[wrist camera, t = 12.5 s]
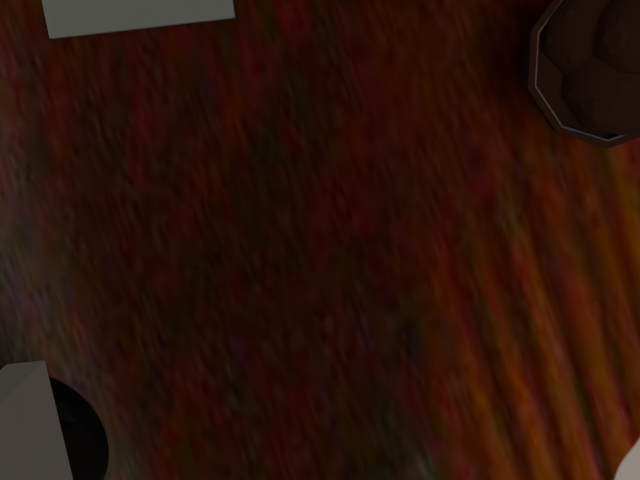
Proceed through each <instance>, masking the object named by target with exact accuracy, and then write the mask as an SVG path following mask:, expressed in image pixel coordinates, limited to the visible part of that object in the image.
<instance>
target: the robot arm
mask: <svg viewBox="0 0 640 480" xmlns="http://www.w3.org/2000/svg"><path fill="white" fill-rule="evenodd" d="M107 465H108V444H107V439H106V435H105V432H104V429H103V427H102V425H101V423H100V421H99V419H98V417H97V416H96V414H95V413H94V411H93V410H92V408H91V407H90V406H89V405H88V404H87V403H86V402H85V401H84V400H83V399H82V398H81V397H80V396H79V395H78V394H77V393H75V392H74V391H73V390H71V389H70V388H68V387H67V386H65V385H63V384H62V383H60V382H58V381H56V380H53V379H51V378H49V376H48V372H47V367H46V363H45V360H44V361H34V362H24V363H15V364H7V365H5V366H4V367H3V368H2V369H1V370H0V480H103V479H104V476H105V473H106V470H107Z"/></svg>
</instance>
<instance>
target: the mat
mask: <svg viewBox="0 0 640 480" xmlns="http://www.w3.org/2000/svg"><path fill="white" fill-rule="evenodd" d="M42 4H43V9H44V14H45V19H46V24H47V28H48V33H49V38H50V39H59V38H68V37H77V36H85V35H94V34H103V33H112V32H121V31H129V30H138V29H147V28H156V27H164V26H173V25H182V24H191V23H199V22H208V21H217V20H226V19H235V18H236V16H235V8H234V1H233V0H42Z"/></svg>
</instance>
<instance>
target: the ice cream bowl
mask: <svg viewBox="0 0 640 480" xmlns="http://www.w3.org/2000/svg"><path fill="white" fill-rule="evenodd" d="M520 78H521V80H522V81H523V83H524V88H525V89H526V91H527V92H528V94H529V95H530V97H531V98H532V100H533V101H534V103H535V104H536V106H537V107H538V109H539V110H540V112H541V113H542V115H543V116H544V118H545V119H546V121H547V122H548V124H549V125H550V127H551V128H552V129H553V130H554V131H555V132H557V133H558V134H562V135H565V136H568V137H572V138H575V139H578V140H581V141H585V142H588V143H591V144H594V145H598V146H601V147H604V148H610V147H613V146H616V145H619V144H622V143H625V142H628V141H630V140H633V139H636V138H639V137H640V0H552V1H551V2H550V3H549V5H548V6H547V7H546V9H545V10H544V12H543V13H542V14H541V16H540V17H539V18H538V20H537V21H536V23H535V24H534V25H533V27H532V28H531V30H530V31H529V32H528V34H527V44H526V49H525V50H524V52H523V53H522V54H521V71H520Z"/></svg>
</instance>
